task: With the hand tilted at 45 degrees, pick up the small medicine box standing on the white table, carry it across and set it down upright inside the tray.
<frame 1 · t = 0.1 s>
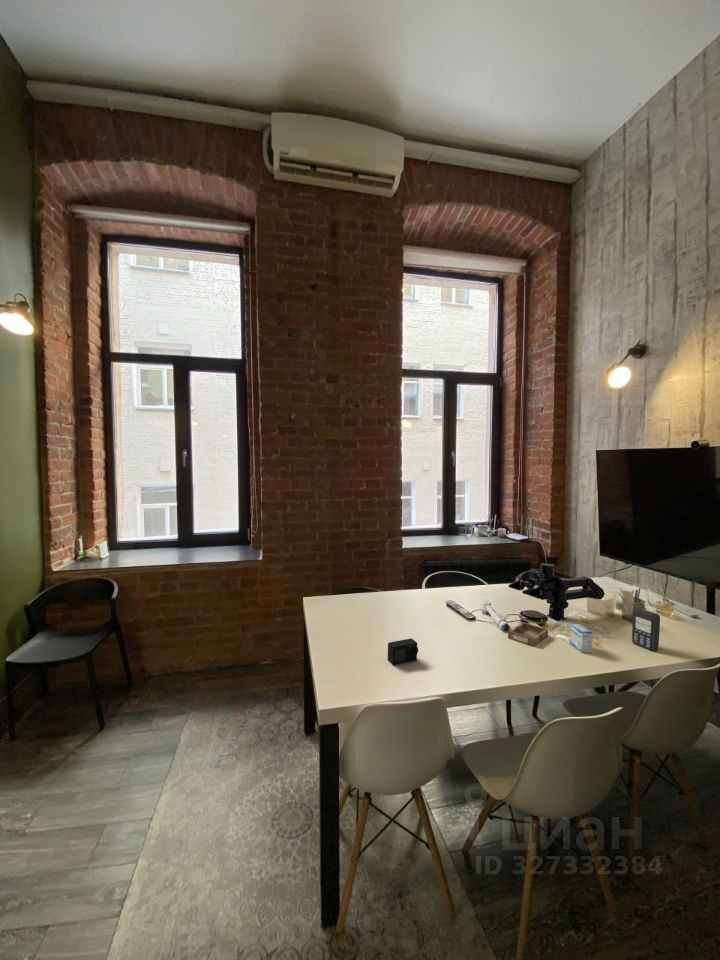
hand: (515, 588, 188), 17 cm above the table, tool horizontal, fingers open, 9 cm apart
tray: (528, 637, 174), on the table
medicine box: (580, 648, 164), on the table
card reader: (644, 647, 167), on the table
digital camera: (403, 661, 151), on the table
white stick: (494, 621, 192), on the table
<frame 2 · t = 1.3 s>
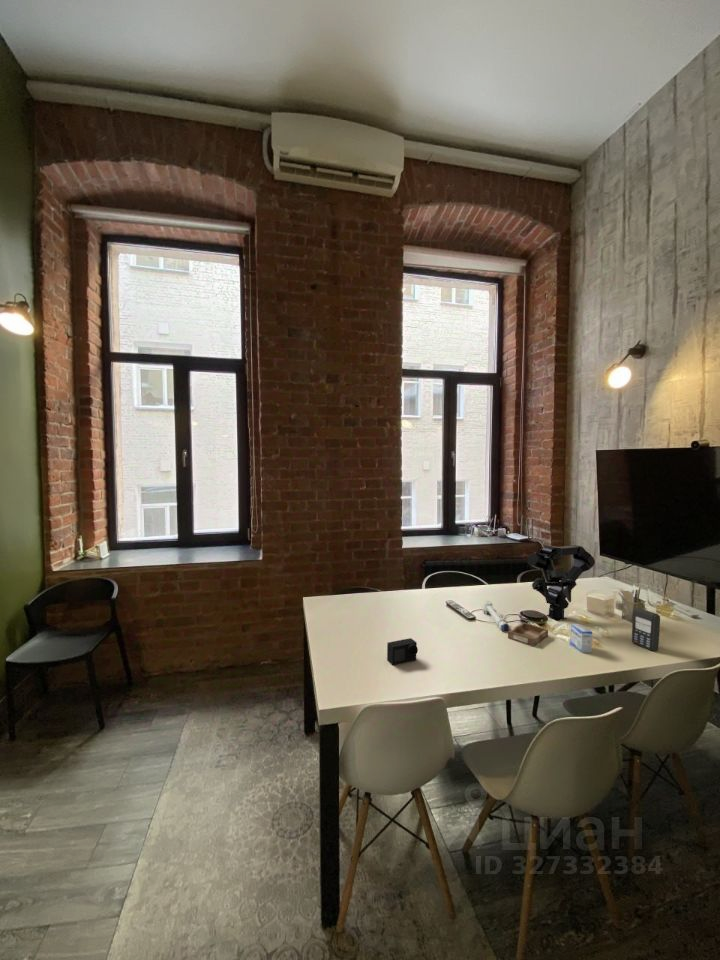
hand: (560, 601, 180), 13 cm above the table, tool tilted 45°, fingers open, 9 cm apart
nothing on the table moved.
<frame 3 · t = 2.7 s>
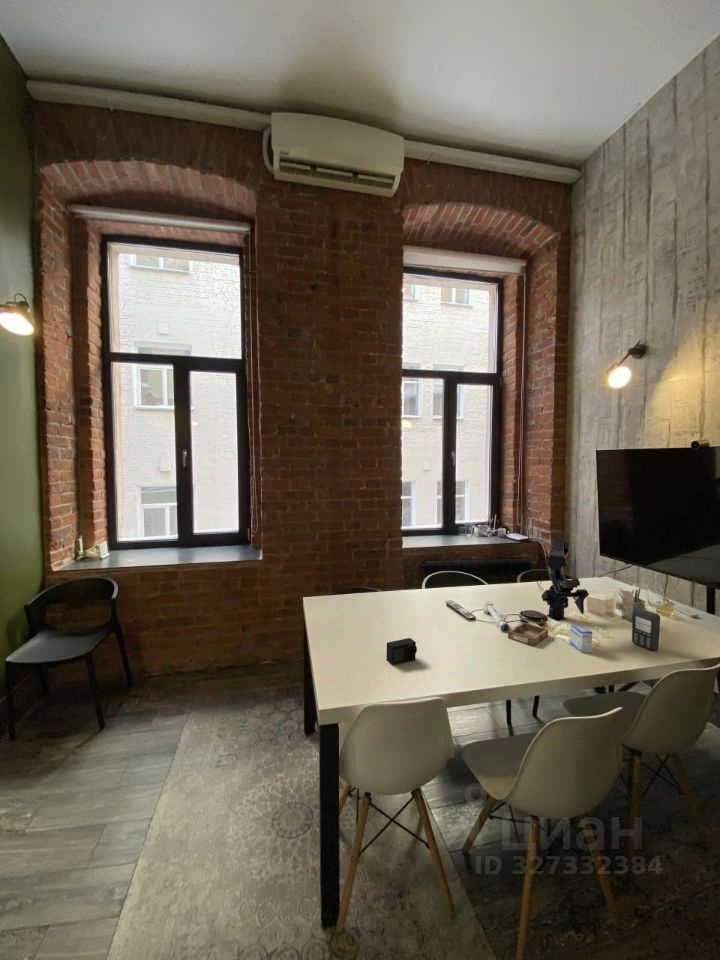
hand: (572, 613, 169), 12 cm above the table, tool tilted 45°, fingers open, 9 cm apart
nothing on the table moved.
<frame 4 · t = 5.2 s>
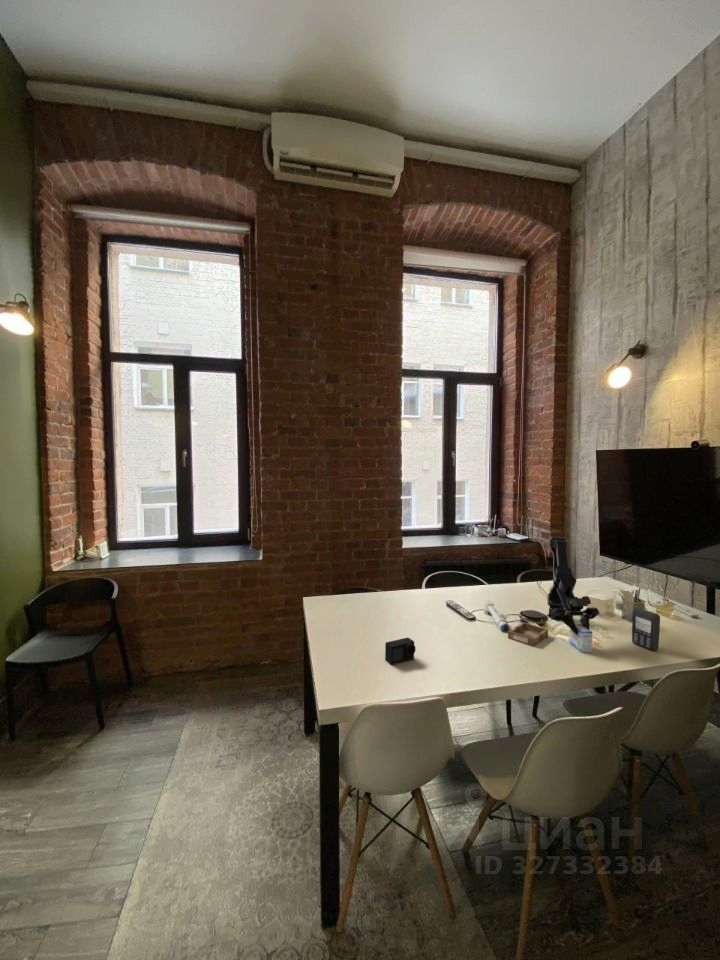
hand: (583, 633, 163), 7 cm above the table, tool tilted 45°, fingers closed on medicine box, 4 cm apart
medicine box: (580, 648, 164), on the table, touching gripper
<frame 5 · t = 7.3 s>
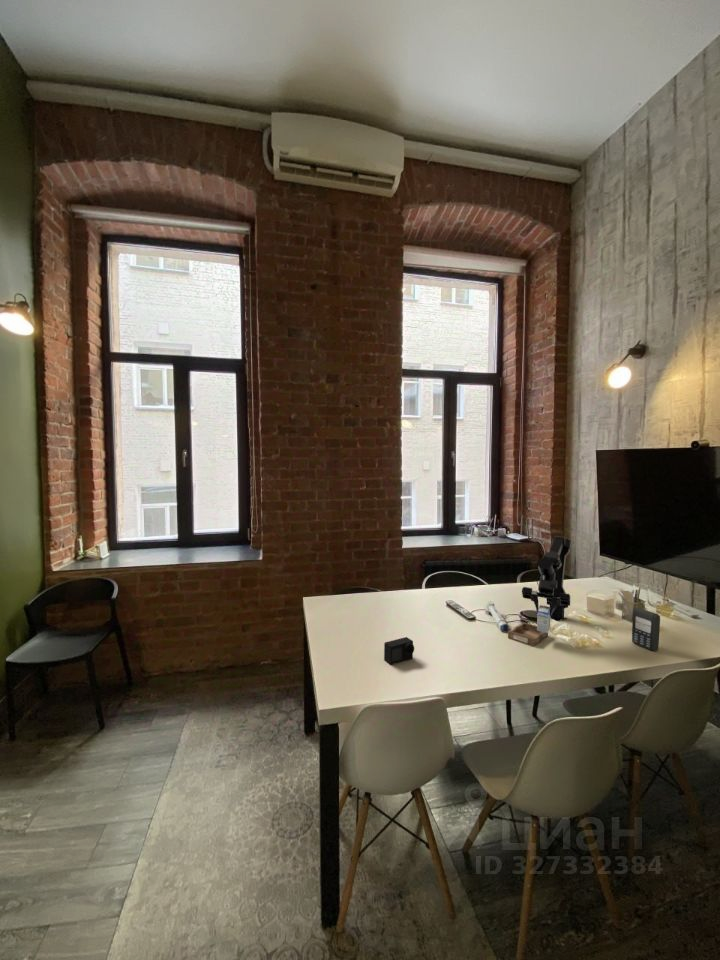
hand: (543, 614, 168), 12 cm above the table, tool tilted 45°, fingers closed on medicine box, 4 cm apart
medicine box: (543, 629, 170), point 5 cm above the table, touching gripper
when the fingers open (8 cm above the table, at t = 9.4 s): medicine box stays where it is, resting on tray.
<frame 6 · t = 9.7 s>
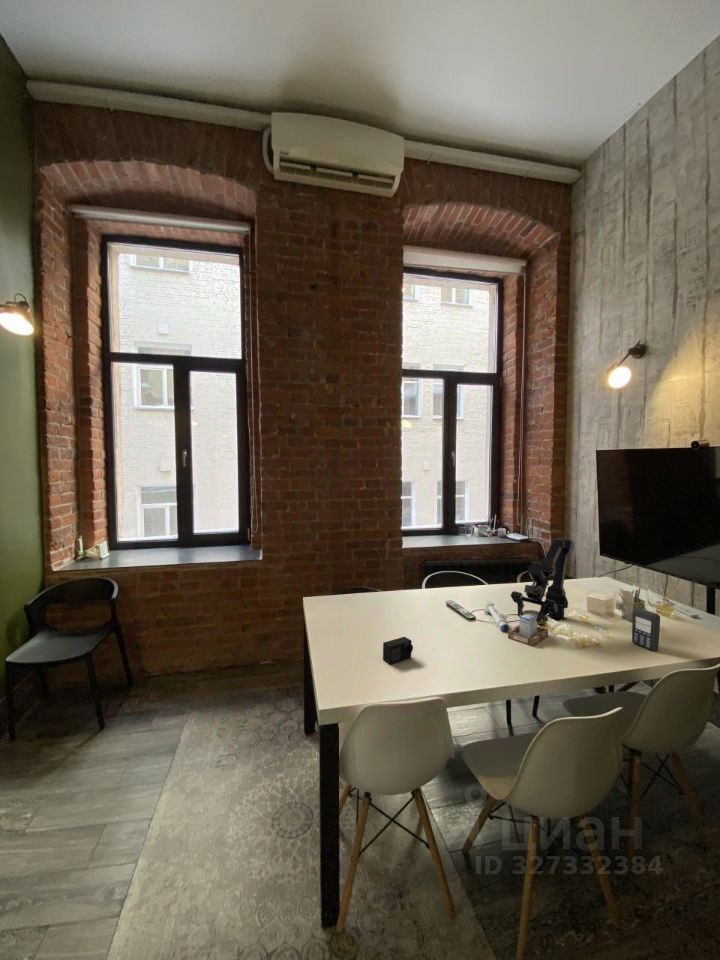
hand: (527, 618, 173), 9 cm above the table, tool tilted 45°, fingers open, 8 cm apart
medicine box: (528, 635, 174), point 1 cm above the table, touching tray
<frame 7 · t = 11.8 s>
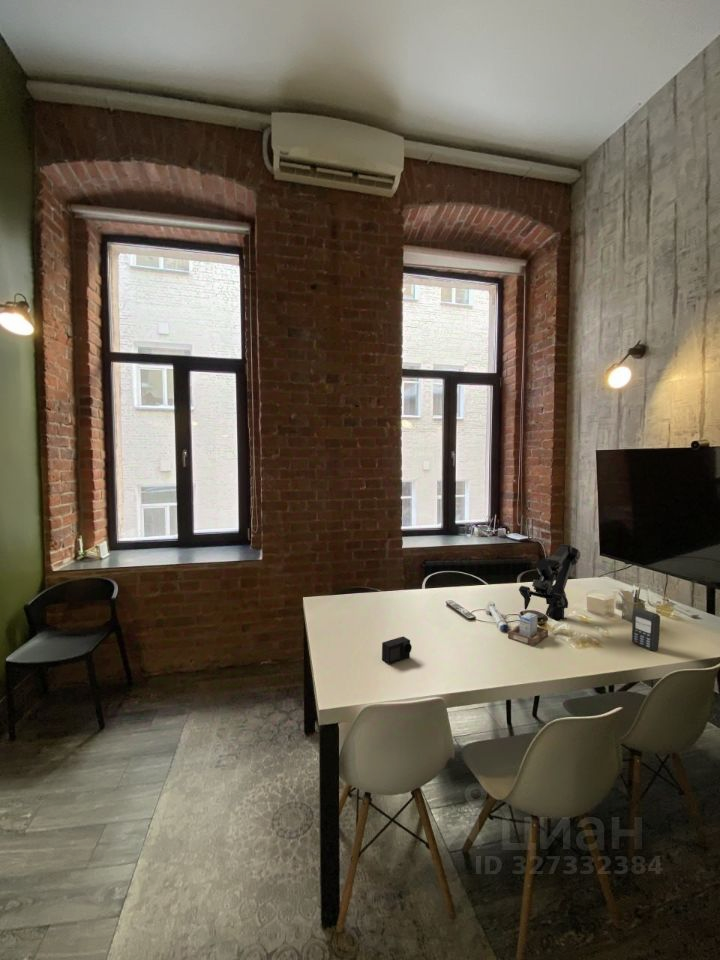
hand: (535, 612, 179), 9 cm above the table, tool tilted 45°, fingers open, 9 cm apart
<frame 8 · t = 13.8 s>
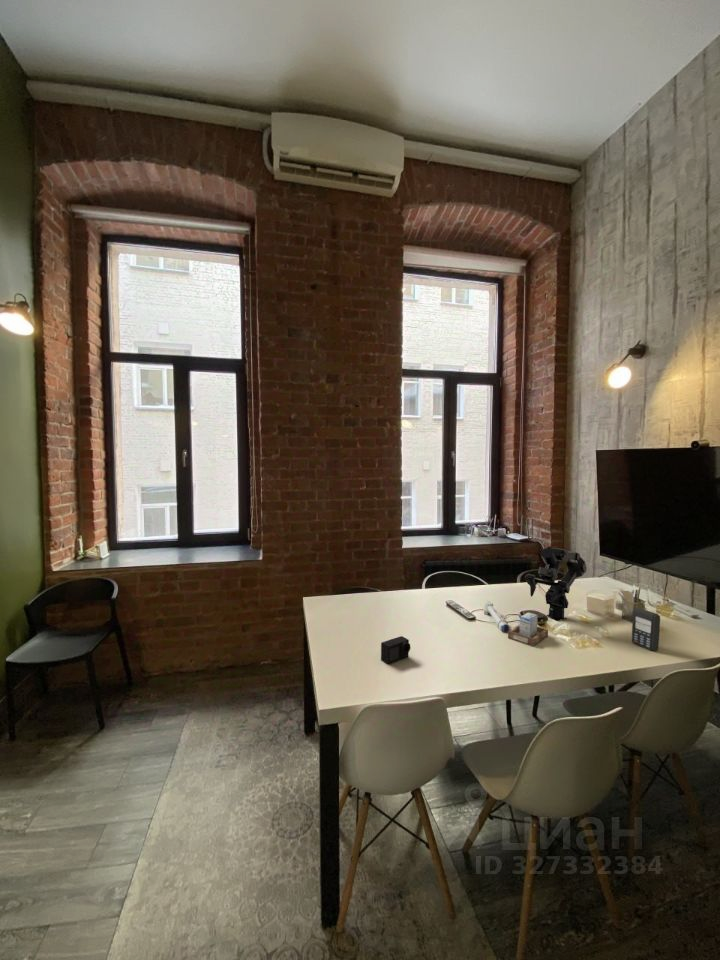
hand: (541, 598, 184), 14 cm above the table, tool tilted 45°, fingers open, 9 cm apart
at the end: medicine box inside the target area on the tray (0.1 cm from its centre), point 0.6 cm above the tray's base; medicine box tilted 0°; the gripper is holding nothing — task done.
